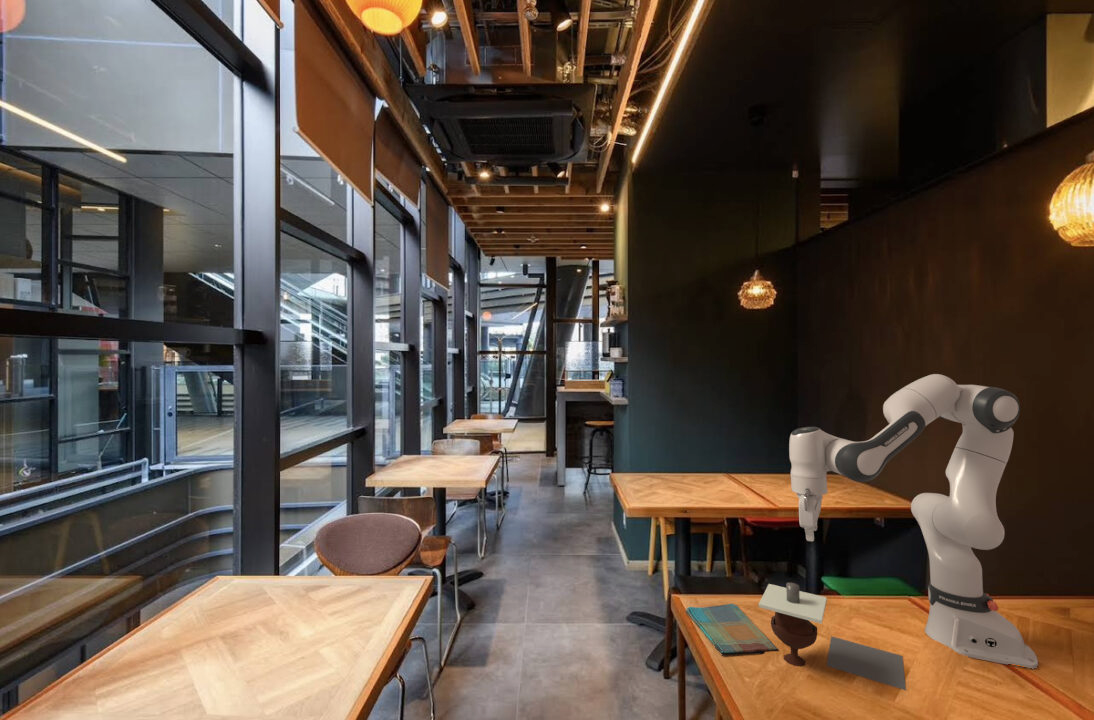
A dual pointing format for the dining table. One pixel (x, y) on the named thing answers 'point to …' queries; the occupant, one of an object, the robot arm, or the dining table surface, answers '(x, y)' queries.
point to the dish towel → (730, 630)
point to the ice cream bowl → (794, 635)
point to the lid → (794, 602)
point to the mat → (867, 662)
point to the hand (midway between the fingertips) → (812, 534)
